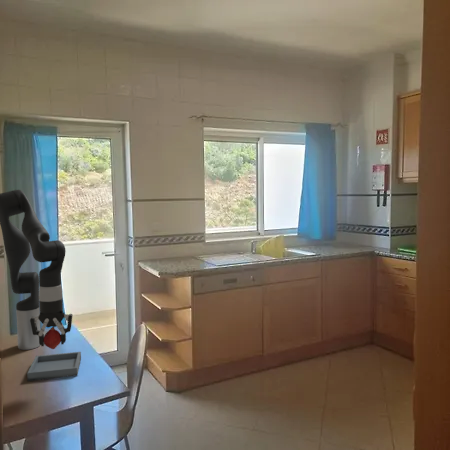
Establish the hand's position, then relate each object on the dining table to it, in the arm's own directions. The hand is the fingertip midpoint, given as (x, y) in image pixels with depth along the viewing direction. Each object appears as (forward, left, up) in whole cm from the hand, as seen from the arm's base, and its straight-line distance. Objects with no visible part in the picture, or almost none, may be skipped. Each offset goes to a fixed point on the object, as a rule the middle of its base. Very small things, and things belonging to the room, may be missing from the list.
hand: (52, 344), depth 148 cm
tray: (-14, -1, -14) cm, 20 cm away
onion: (0, 0, -2) cm, 2 cm away
